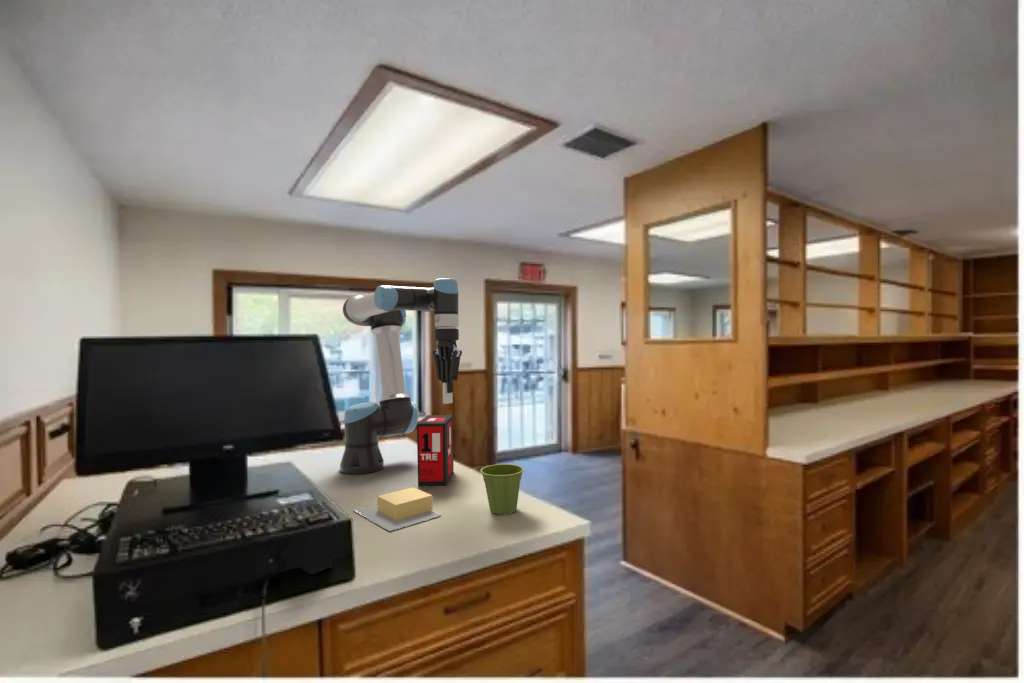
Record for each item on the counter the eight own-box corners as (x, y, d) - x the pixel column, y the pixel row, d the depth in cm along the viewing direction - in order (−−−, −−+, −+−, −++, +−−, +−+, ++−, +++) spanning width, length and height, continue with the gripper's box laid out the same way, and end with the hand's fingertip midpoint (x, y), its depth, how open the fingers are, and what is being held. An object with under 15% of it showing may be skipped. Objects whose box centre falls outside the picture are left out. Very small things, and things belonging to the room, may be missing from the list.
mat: (353, 511, 134) (353, 510, 134) (402, 498, 145) (402, 497, 145) (389, 532, 120) (389, 531, 120) (441, 516, 130) (441, 515, 130)
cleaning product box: (428, 472, 173) (427, 415, 173) (453, 472, 172) (452, 415, 172) (417, 486, 156) (416, 423, 156) (445, 486, 156) (445, 423, 156)
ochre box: (413, 501, 141) (377, 510, 134) (413, 487, 141) (377, 496, 134) (432, 510, 134) (396, 520, 126) (432, 495, 134) (395, 505, 126)
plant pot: (507, 500, 142) (507, 461, 142) (533, 512, 132) (532, 470, 132) (472, 509, 135) (472, 468, 135) (496, 522, 125) (496, 478, 125)
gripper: (425, 328, 157) (426, 402, 158) (448, 327, 148) (449, 406, 148) (444, 328, 162) (445, 400, 163) (468, 327, 153) (469, 403, 153)
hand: (447, 403), depth 155 cm, fingers closed
